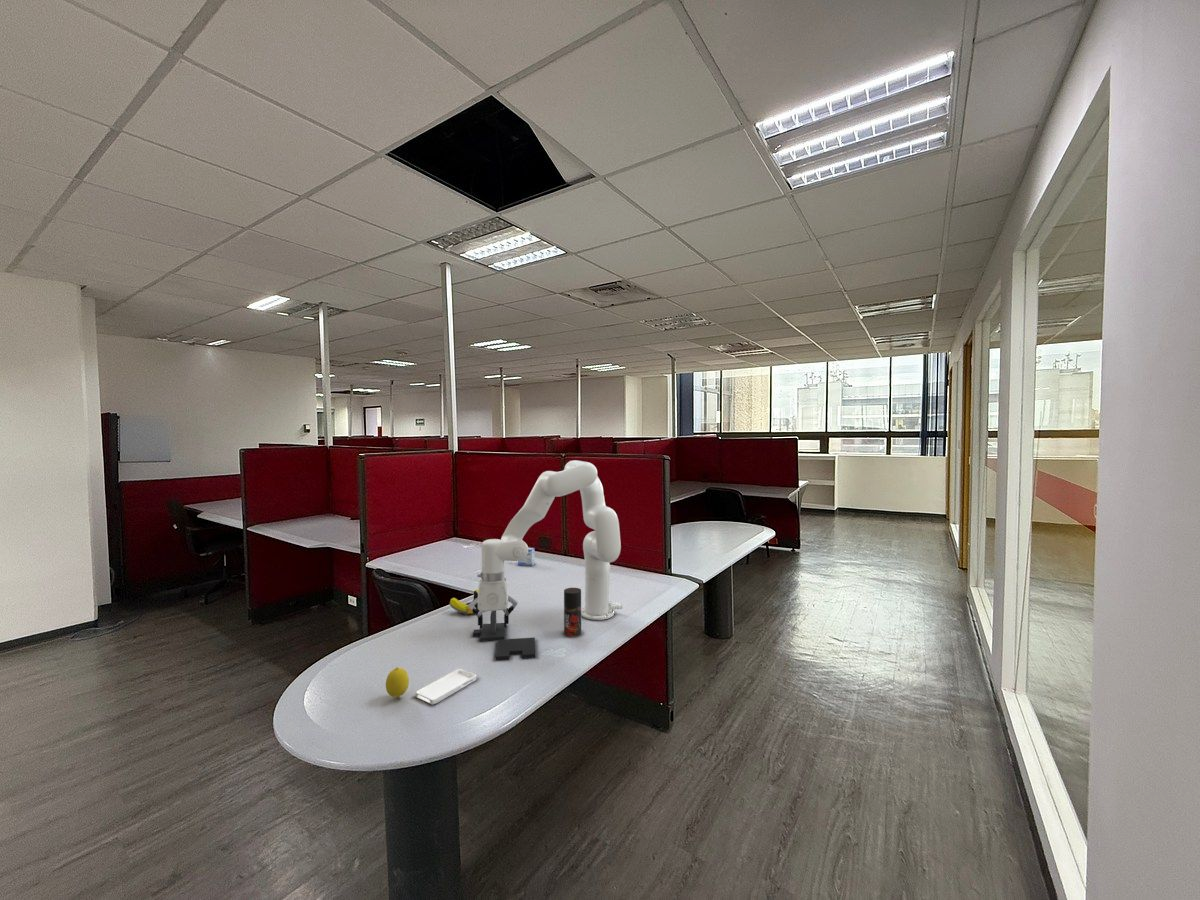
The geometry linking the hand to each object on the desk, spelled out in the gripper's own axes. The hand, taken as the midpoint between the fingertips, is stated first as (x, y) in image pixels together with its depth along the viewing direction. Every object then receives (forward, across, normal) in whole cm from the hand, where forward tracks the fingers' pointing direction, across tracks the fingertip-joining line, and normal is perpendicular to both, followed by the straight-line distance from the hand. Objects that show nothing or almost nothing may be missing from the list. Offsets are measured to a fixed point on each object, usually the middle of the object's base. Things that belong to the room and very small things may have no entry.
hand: (493, 626), depth 164 cm
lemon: (+3, -22, -37) cm, 43 cm away
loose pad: (+2, -1, 0) cm, 3 cm away
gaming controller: (+3, -10, +24) cm, 26 cm away
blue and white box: (+3, +11, +85) cm, 86 cm away
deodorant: (+3, +27, -4) cm, 27 cm away
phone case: (+3, -10, -34) cm, 36 cm away
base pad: (+2, +8, -14) cm, 16 cm away
